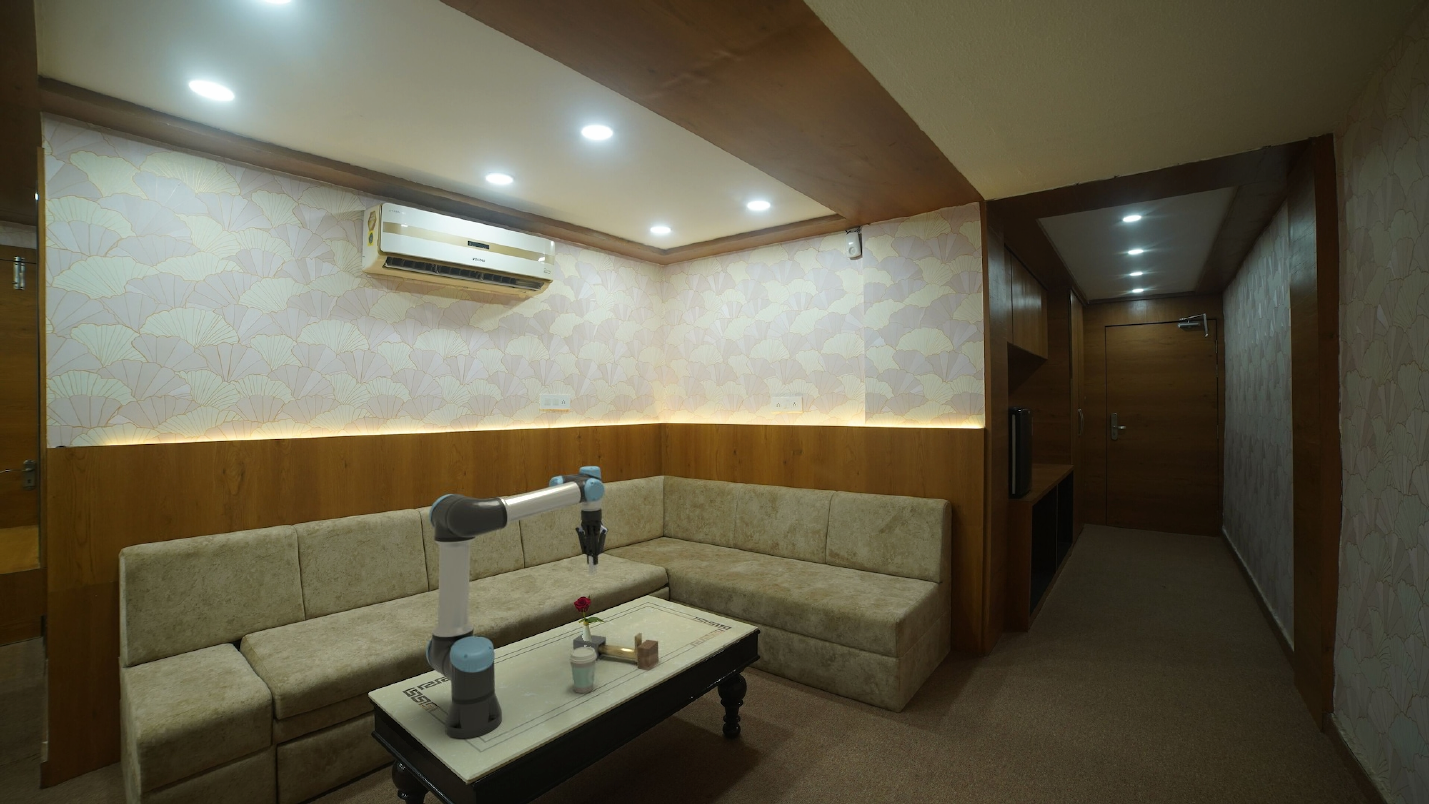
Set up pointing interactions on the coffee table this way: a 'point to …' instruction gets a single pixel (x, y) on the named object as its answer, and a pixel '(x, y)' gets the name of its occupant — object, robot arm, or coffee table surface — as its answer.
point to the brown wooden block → (647, 654)
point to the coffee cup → (583, 668)
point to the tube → (621, 649)
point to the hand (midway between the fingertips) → (592, 573)
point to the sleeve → (590, 643)
